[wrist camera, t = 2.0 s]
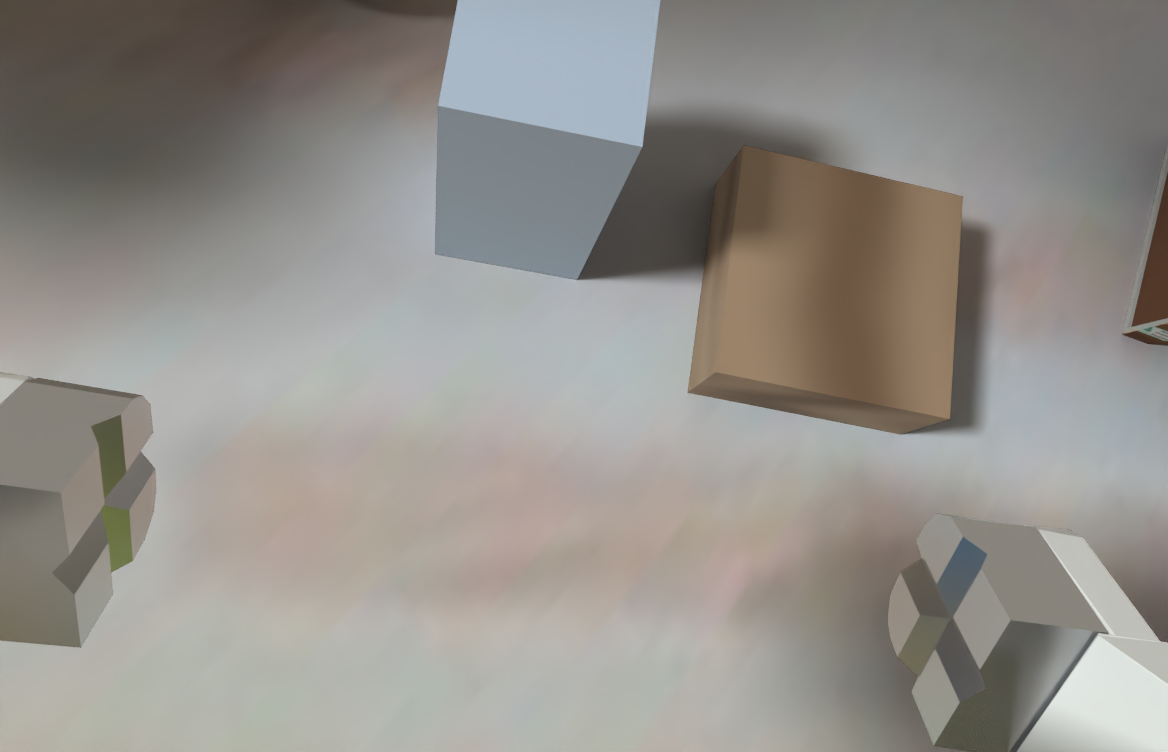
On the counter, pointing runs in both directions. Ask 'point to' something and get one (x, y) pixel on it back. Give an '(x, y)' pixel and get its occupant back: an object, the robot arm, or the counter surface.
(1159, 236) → the food container
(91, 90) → the counter surface
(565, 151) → the slate-blue painted block
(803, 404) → the walnut block
